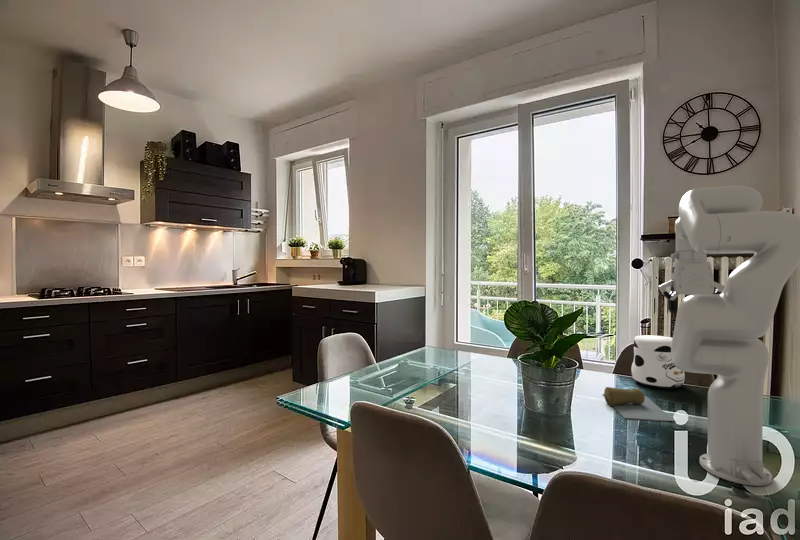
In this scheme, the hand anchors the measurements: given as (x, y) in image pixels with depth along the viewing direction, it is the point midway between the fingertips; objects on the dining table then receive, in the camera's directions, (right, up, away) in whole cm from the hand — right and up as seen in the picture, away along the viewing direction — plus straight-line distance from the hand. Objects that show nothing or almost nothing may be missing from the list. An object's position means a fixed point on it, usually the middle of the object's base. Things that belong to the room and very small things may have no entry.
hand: (690, 313), depth 119 cm
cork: (-19, -29, +12) cm, 37 cm away
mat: (-11, -32, +10) cm, 36 cm away
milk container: (+12, -32, +33) cm, 47 cm away
